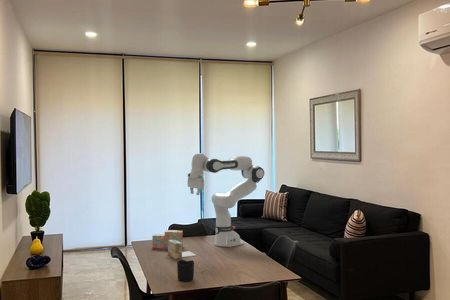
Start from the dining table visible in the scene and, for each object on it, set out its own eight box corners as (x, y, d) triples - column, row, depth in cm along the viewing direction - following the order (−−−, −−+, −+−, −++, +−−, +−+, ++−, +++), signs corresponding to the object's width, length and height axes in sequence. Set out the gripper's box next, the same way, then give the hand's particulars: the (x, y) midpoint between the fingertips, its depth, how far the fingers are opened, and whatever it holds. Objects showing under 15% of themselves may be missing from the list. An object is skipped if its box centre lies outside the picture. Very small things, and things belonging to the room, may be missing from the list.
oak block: (175, 254, 299) (174, 239, 298) (181, 257, 288) (181, 242, 288) (168, 254, 296) (168, 240, 296) (174, 258, 286) (174, 243, 285)
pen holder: (187, 276, 248) (187, 258, 248) (197, 279, 241) (197, 262, 241) (173, 279, 242) (173, 261, 242) (183, 283, 235) (183, 265, 235)
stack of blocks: (152, 248, 315) (152, 231, 315) (154, 246, 321) (154, 229, 321) (181, 248, 313) (181, 231, 313) (182, 246, 319) (182, 230, 319)
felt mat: (188, 251, 304) (188, 251, 304) (196, 255, 293) (196, 254, 293) (175, 253, 299) (175, 252, 299) (182, 257, 288) (182, 256, 288)
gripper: (207, 176, 307) (205, 196, 307) (194, 174, 325) (192, 193, 324) (199, 176, 304) (197, 195, 304) (186, 174, 322) (185, 192, 321)
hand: (194, 194), depth 314 cm, fingers open, 8 cm apart
